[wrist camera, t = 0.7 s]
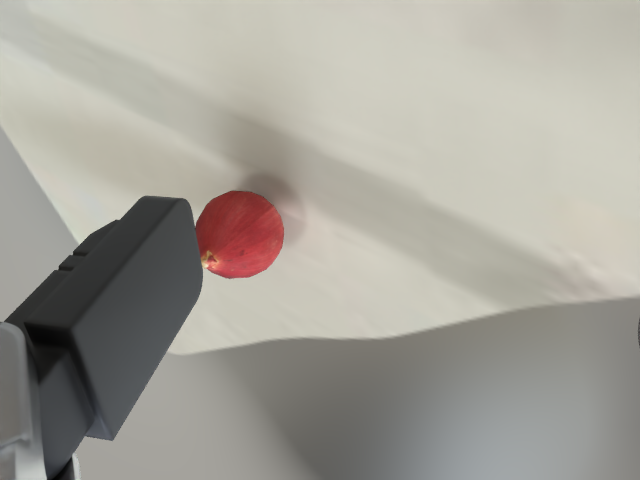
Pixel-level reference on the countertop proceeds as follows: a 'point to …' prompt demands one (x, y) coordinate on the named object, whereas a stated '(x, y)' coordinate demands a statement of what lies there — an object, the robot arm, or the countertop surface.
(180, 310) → the robot arm
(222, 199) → the onion
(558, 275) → the countertop surface
